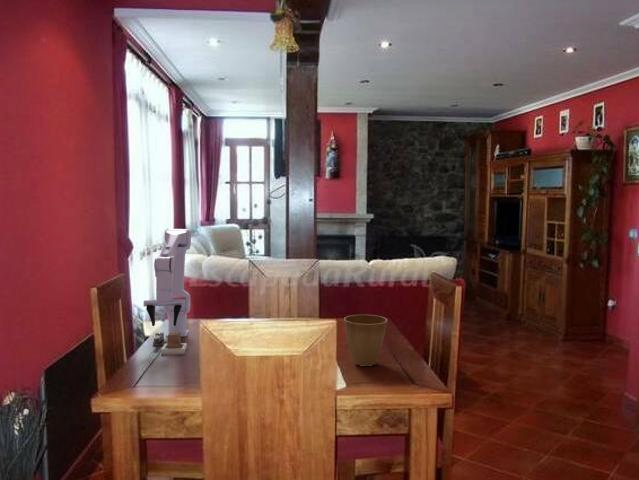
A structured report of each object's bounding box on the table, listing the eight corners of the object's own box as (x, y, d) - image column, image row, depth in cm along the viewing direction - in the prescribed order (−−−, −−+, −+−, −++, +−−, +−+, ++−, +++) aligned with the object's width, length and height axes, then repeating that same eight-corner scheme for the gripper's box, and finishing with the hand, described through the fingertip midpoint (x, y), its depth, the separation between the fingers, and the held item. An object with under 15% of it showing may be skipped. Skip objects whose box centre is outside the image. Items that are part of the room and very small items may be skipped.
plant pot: (349, 355, 193) (350, 312, 192) (389, 360, 188) (391, 316, 187) (337, 367, 179) (338, 321, 178) (380, 372, 174) (381, 325, 173)
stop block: (169, 348, 195) (169, 332, 195) (180, 348, 196) (180, 332, 195) (167, 351, 191) (167, 335, 191) (178, 351, 192) (179, 335, 191)
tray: (164, 348, 197) (164, 343, 197) (186, 348, 198) (186, 343, 198) (161, 354, 189) (161, 349, 189) (183, 354, 190) (183, 349, 190)
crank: (156, 340, 204) (156, 331, 204) (164, 340, 204) (164, 331, 204) (151, 346, 195) (151, 337, 195) (160, 346, 195) (160, 337, 195)
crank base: (154, 342, 206) (154, 332, 205) (180, 341, 207) (180, 331, 207) (151, 346, 200) (151, 336, 199) (178, 346, 201) (178, 335, 201)
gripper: (141, 290, 188) (141, 328, 189) (183, 290, 191) (183, 327, 191) (145, 287, 195) (145, 323, 196) (185, 287, 198) (185, 323, 198)
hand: (164, 325), depth 194 cm, fingers open, 7 cm apart
